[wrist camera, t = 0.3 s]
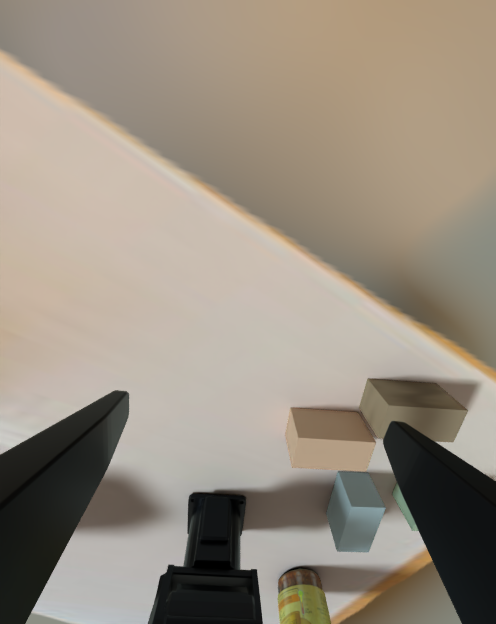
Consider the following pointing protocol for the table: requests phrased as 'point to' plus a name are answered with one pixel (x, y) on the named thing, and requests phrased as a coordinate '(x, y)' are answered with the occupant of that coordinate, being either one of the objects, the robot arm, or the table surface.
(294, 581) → the sauce bottle
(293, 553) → the table surface
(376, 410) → the walnut brick
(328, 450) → the tan brick
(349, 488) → the slate brick
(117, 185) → the table surface
